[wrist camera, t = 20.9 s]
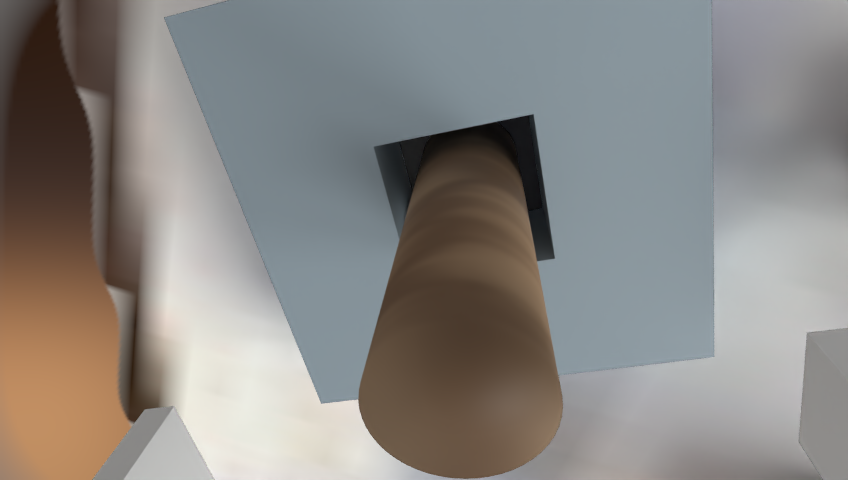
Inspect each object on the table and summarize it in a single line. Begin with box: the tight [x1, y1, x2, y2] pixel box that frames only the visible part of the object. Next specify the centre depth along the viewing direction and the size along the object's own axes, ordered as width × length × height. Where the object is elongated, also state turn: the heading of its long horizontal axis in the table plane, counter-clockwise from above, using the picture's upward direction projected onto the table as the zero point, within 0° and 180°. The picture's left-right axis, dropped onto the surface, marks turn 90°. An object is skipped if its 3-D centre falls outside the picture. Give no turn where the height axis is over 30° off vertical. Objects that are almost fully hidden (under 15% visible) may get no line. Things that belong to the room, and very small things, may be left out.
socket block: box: [164, 0, 714, 404], centre depth 24 cm, size 18×18×5 cm
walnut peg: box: [358, 122, 563, 479], centre depth 19 cm, size 4×4×16 cm
